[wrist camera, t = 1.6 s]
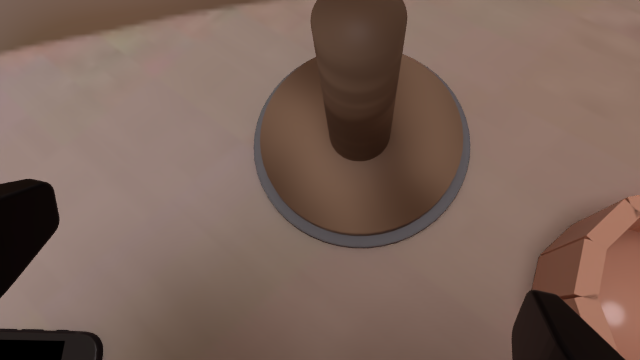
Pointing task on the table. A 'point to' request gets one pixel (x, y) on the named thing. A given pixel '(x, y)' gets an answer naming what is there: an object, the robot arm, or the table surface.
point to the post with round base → (361, 125)
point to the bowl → (600, 273)
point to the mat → (373, 239)
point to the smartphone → (49, 345)
